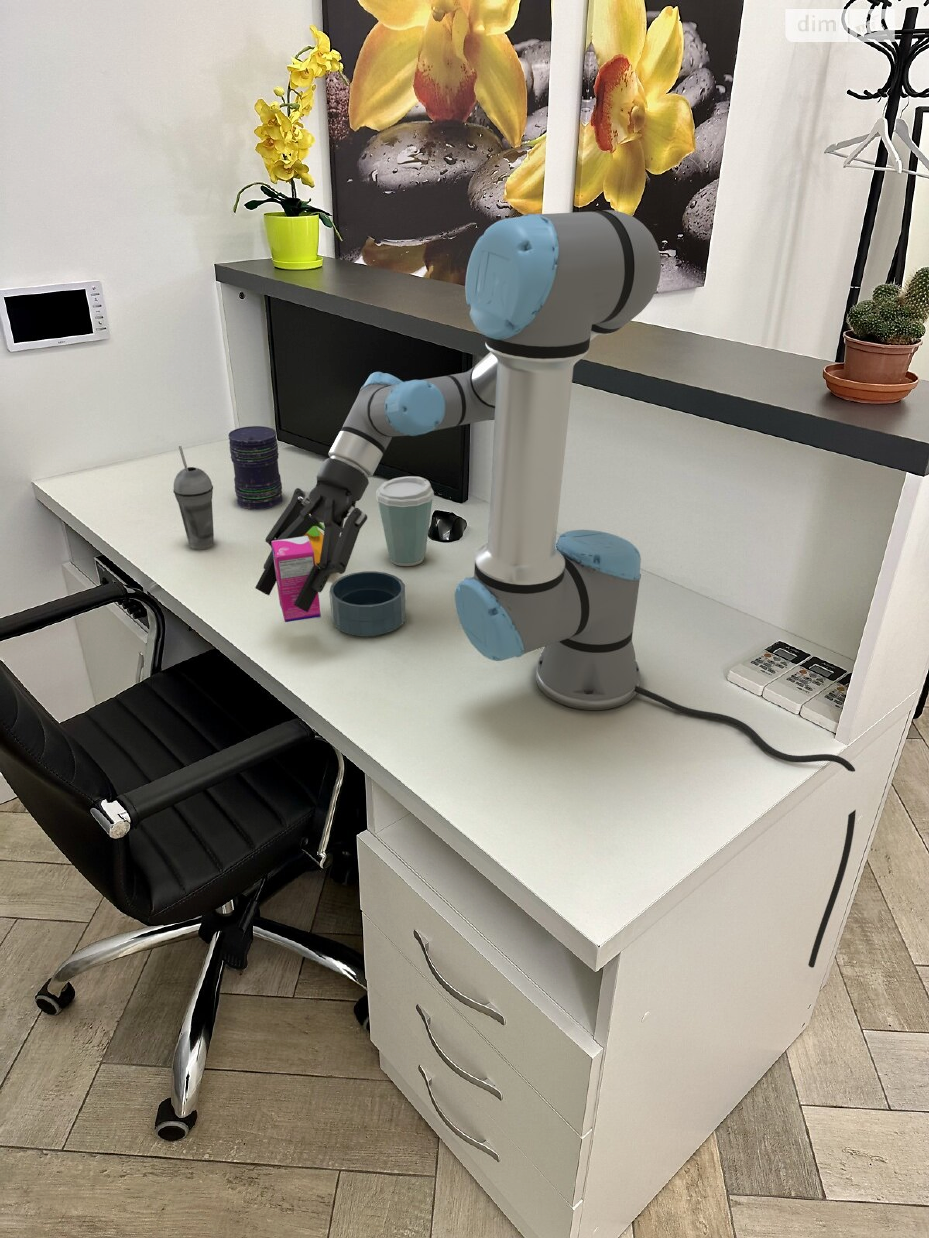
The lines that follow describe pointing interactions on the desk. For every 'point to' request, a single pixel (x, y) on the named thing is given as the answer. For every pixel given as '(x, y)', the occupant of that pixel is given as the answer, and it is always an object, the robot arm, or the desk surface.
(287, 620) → the supplement box
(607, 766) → the desk surface
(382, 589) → the bowl
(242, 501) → the storage jar
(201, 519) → the beverage cup
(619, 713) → the desk surface
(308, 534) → the corn
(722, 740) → the desk surface
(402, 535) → the disposable coffee cup
